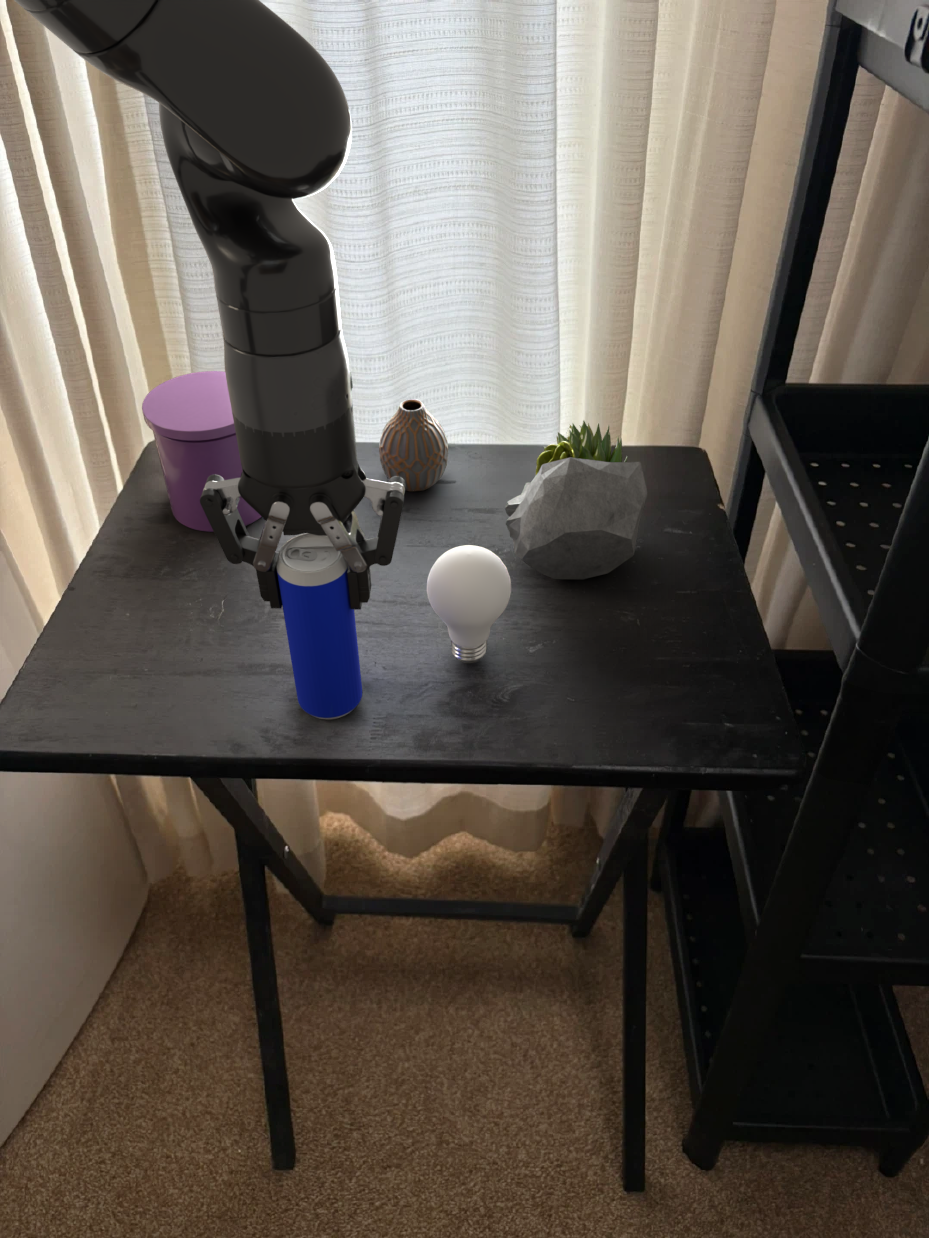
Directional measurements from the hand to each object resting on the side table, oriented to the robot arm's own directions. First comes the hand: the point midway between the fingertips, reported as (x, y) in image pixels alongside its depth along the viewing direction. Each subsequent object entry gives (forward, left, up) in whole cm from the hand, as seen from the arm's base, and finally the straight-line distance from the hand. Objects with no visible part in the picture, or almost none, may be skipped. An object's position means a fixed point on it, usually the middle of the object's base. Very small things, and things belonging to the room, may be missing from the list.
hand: (318, 601), depth 76 cm
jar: (-14, +27, -10) cm, 32 cm away
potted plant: (+20, +20, -11) cm, 30 cm away
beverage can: (0, 0, -11) cm, 11 cm away
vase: (+5, +31, -11) cm, 33 cm away
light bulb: (+11, +5, -11) cm, 16 cm away
